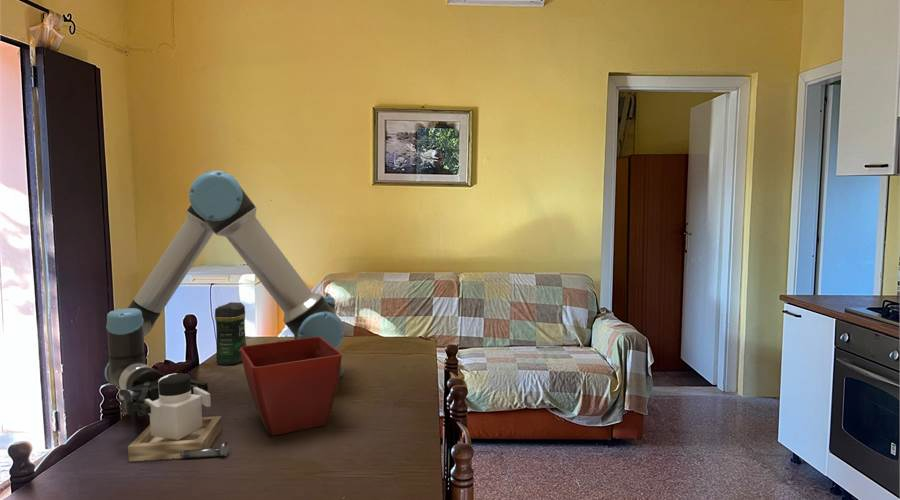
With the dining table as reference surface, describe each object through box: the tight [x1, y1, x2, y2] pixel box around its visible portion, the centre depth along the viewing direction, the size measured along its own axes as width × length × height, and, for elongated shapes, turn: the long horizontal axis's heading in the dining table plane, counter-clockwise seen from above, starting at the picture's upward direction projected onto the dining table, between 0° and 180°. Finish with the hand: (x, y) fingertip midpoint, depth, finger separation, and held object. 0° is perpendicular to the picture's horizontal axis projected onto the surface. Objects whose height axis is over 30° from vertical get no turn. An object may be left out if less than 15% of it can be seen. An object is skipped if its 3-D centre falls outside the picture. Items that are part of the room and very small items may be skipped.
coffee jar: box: [214, 301, 247, 366], centre depth 183 cm, size 10×8×19 cm
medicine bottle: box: [149, 372, 203, 440], centre depth 121 cm, size 7×7×12 cm
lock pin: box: [180, 441, 229, 459], centre depth 116 cm, size 9×3×3 cm, turn 97°
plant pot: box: [240, 337, 343, 437], centre depth 133 cm, size 19×19×17 cm
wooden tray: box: [127, 415, 223, 462], centre depth 122 cm, size 14×14×3 cm
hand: (184, 406), depth 118 cm, fingers closed on medicine bottle, 9 cm apart
